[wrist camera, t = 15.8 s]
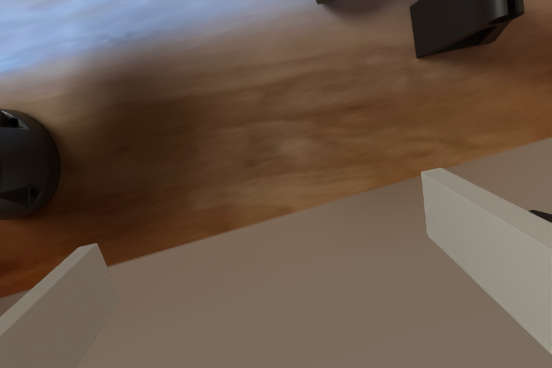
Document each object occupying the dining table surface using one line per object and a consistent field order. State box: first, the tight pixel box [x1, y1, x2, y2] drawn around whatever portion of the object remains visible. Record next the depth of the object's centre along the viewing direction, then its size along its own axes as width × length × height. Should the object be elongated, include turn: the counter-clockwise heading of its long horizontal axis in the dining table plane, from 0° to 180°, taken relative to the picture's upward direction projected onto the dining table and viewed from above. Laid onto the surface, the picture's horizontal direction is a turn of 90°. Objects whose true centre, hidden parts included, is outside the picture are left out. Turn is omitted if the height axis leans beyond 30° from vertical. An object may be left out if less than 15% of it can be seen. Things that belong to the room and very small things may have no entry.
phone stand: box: [410, 0, 524, 58], centre depth 35 cm, size 9×6×12 cm, turn 100°
